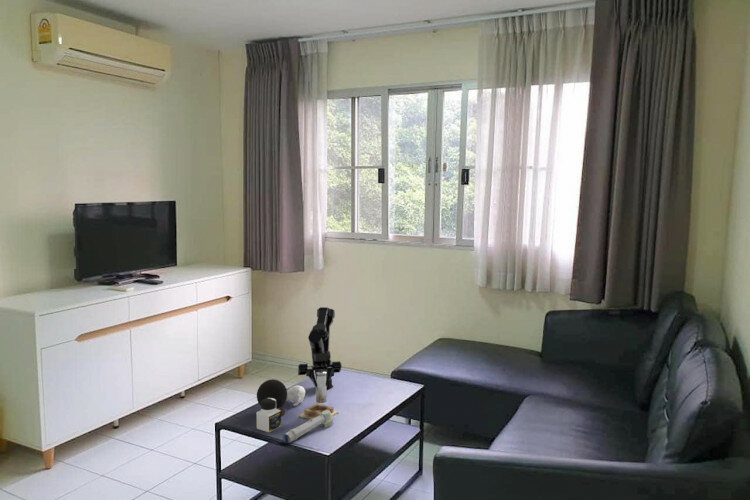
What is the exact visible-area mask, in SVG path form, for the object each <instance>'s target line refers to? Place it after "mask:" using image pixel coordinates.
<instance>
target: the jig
mask: <svg viewBox="0 0 750 500" xmlns="http://www.w3.org/2000/svg"><path fill="white" fill-rule="evenodd" d="M325 410H329V411H330V412H331V415H332V416H333V417H335V416H337V415H339V411H337V410H334V407H332V406H329V405H325V404H323V403H317V402H316V403H315V404H314V405H311V406H310V407H307V408H305V409H304V410H303V411H304V412H302V413H300V414H299V417H300V418H303V419H306V420H308V421H310V420H312V419H314V418H316V417H317V416H319V415H321V413H322V412H323V411H325Z"/></svg>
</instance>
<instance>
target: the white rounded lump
mask: <svg viewBox="0 0 750 500" xmlns="http://www.w3.org/2000/svg"><path fill="white" fill-rule="evenodd" d="M305 395H306V390H305V388H304V386H301V385H294V386H292V387H289V389H288V390H287V399H286V402H288V401H290V403H293V406H294V407H296V406H298V405H299V404H301V403H302V402H303V401H304V399H305ZM294 400H296V402H295V401H294Z"/></svg>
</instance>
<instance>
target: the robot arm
mask: <svg viewBox="0 0 750 500" xmlns="http://www.w3.org/2000/svg"><path fill="white" fill-rule="evenodd" d="M316 311H317V312H316V318H317V320H316V324H314V325H313V326H312V329H311V330H310V331H309V335H308V343H309V345H310V349H311V350H310V351H311V360H312V365H308V363H299V364H298V365H297V366H298V367H297V376H306V377H308V378H309V379H310V381H311V382H312V384H313V385H314V387H315V388H316V371H318V370H325V371H326V372H327V375H326V384H327V390H329V389H332V388H334V385H333V379H332V378H333V377H334V376H335V374H337V373H341V370H342V363H341V361H332V360H331V358H332V356H331V352H330V336H331V335H330V331H331V326H332V325H333V323H334V319H335V317H336V314H335V313H336V311H335V310H334V309H333V308H330V307H327V306H326V307H324V306H322V307H321V306H320V307H318V309H317V310H316Z"/></svg>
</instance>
